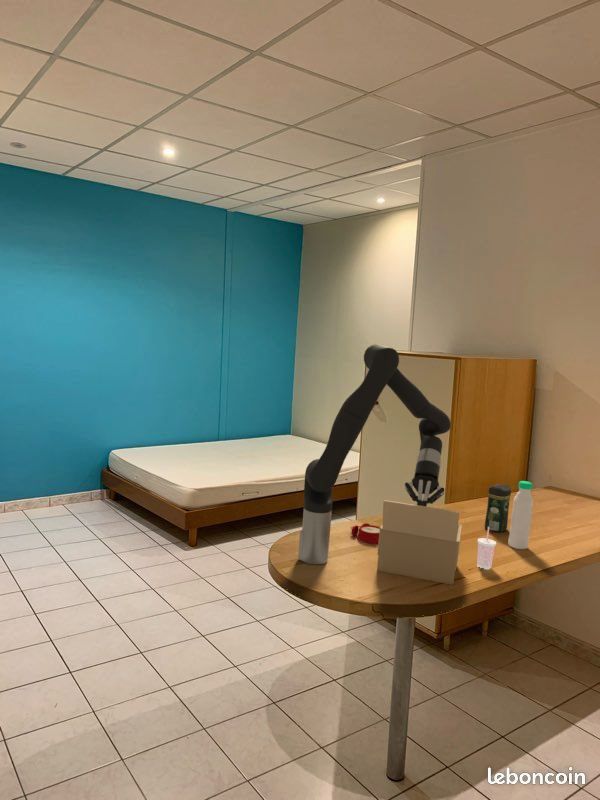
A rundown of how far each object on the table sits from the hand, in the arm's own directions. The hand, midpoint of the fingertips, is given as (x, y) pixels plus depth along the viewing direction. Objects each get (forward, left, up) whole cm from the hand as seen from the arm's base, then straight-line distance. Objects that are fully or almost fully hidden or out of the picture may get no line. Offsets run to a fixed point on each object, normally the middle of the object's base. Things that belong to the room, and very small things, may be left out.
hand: (420, 513), depth 188 cm
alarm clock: (-21, +32, -22) cm, 45 cm away
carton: (0, +12, -22) cm, 25 cm away
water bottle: (+33, +52, -22) cm, 65 cm away
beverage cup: (+21, +24, -22) cm, 39 cm away
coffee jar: (+25, +70, -22) cm, 77 cm away
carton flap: (0, +1, -3) cm, 3 cm away
